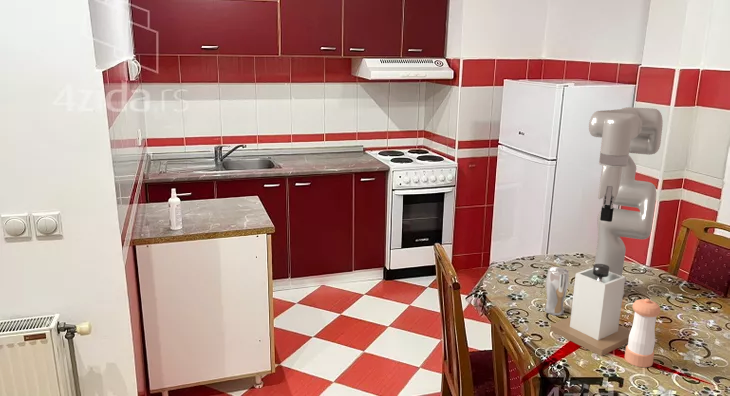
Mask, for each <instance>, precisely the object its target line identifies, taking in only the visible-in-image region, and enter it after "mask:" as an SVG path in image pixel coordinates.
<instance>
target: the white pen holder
mask: <svg viewBox="0 0 730 396" xmlns="http://www.w3.org/2000/svg"><path fill="white" fill-rule="evenodd" d="M574 277H575V279H574V285H573V286H574V287H573V296H572V304H571V312H570V316H569V317H568V318H564V319H562V320H560V321H557V322H554V323H552V324H550V329H549V330H550V331H551V332H552V333H555V334H556V335H558V336H560V337H562V338H564V339H566V340H568V341H570V342H572V343H574V344H576V345H578V346H579V347H582V348H585V349H586V350H588V351H590V352H592V353H594V354H596V355H598V356H599V357H602V356H605V355H606V354H609V353H611V352H613V351H615V350H617V349H619V348H621V347H623V346H625V345H628V340H629V334H630V331H631V329H629V328H627V327H624V326H622V325H620V317H621V310H622V303H623V297H624V296H623V291H625V290H624V289H625V283H626V282H625V278H626V276H623V275H622V276H620V275H618V274H615V273H612V272H609V275H608V276H607V277H603V279H602V282H600V281H597V278H598V276H596V275H594V274H593V267H590V268H587V269H584V270H581V271H578V272H575V276H574Z"/></svg>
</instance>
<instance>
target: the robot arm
mask: <svg viewBox="0 0 730 396" xmlns="http://www.w3.org/2000/svg"><path fill="white" fill-rule="evenodd" d="M663 122H664V121H663V114H662V112H661V111H660V110H659V109H657V108H653V107H652V108H651V107H632V106H631V107H630V106H629V107H622V108H621V109H608V110H606V109H605V110H597V111H594V113H593V114H592V115H591V116H590V118H589V123H588V131H589V132H588V133H589V134H590V136H592V137H594V138H601V142H600V144H601V145H600V153H599V161H598V162H599V163H598V164H599V166H602V168H601V173H600V180H599V181H600V182H599V189H598V197H597V198H598V200H601V199H603V201H602V206H601V210H600V211H599V213H598V214H597V215H598V216H597V241H596V242H597V243H596V251H595V258H594V259H595V260H594V264H604V265H607V266H609V272H612V273H615V274H618V275H620V276H623V274H624V273H623V271H624V264H625V257H626V250H627V249H626V245H625V243H624V241H623V239H622V238H629V239H635V240H646V239H649V238H650V236H651V234H652V230H653V229H652V228H653V222H654V216H655V208H656V202H657V201H656V200H657V188H656V186H655V183H654V184H653V183H652V182H650V181H644V180H636V171H637V164H636V163H635V161H634V159H633V158H632V157H631V156H630V154H639V155H648V156H649V155H655V154H657V152H659V150H660V149H661V148H660V147H661V143H662V133H663V132H662V131H663ZM614 206H622V207H628V208H629V207H630V208H635V209H636V208H637V209H638V210H639V211H637V210H629V209H622V208H615V207H614ZM625 283H627V278H626V277H625ZM625 293H626V292H625V290H624V291H623V297H624V296H625Z"/></svg>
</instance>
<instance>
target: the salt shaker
mask: <svg viewBox="0 0 730 396" xmlns="http://www.w3.org/2000/svg"><path fill="white" fill-rule="evenodd" d="M632 310H633V312H634V314H633V321H632V326H631V329H630V330H631V331H630V334H629V340H628V343H627V344H626V346H625V352H624V359H625V361H626V362H627V363H628V364H630V365H632V366H635V367H639V368H650V367H652V366H653V364H654V357H655V352H654V347H655V343H656V335H655V333H656V331H655V329H656V322H657V316H659V315H660V313H661V312H662V311H661V307H660V306H659V303H658V302H655V301H652V300H651V299H650V298H645V299H641V298H640V299H637V300H634V302H633V304H632Z"/></svg>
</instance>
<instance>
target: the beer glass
mask: <svg viewBox="0 0 730 396" xmlns="http://www.w3.org/2000/svg"><path fill="white" fill-rule="evenodd" d="M569 273H570V272H569V270H568V269H567V268H564V267H562V266H550V267H549V268H547V273H546V280H545V289H546V304H545V307H544V312H545V313H547V314H549V315H552V316H562V315H563V314H564V312H565V311H564V301H565V298H566V294H567V291H568V288H569V275H570V274H569Z"/></svg>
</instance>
